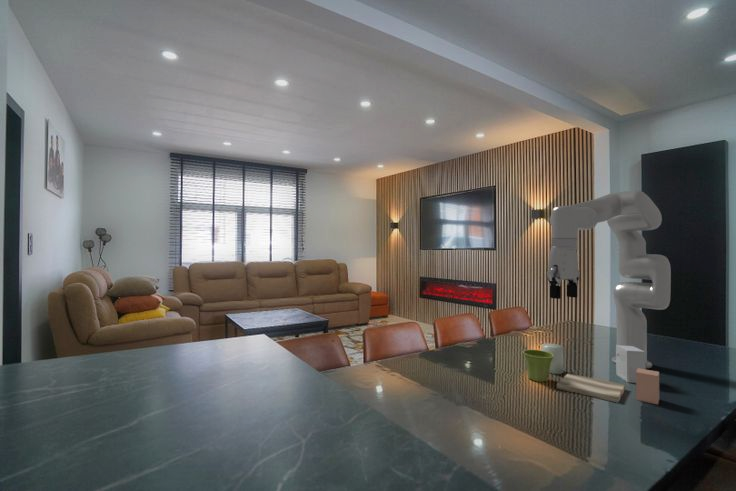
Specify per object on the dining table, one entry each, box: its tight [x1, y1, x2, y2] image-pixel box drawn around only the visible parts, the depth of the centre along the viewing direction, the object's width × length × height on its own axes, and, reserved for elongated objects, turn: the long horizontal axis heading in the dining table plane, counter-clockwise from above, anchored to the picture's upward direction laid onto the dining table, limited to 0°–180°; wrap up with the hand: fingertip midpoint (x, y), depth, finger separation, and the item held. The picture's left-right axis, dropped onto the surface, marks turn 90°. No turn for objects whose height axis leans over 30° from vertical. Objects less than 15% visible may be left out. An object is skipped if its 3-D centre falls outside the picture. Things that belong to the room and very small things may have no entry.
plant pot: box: [522, 349, 554, 383], centre depth 123 cm, size 9×9×9 cm
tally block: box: [635, 368, 660, 405], centre depth 106 cm, size 5×5×8 cm
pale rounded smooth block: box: [541, 343, 565, 375], centre depth 132 cm, size 7×7×9 cm
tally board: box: [556, 372, 626, 404], centre depth 114 cm, size 14×16×2 cm
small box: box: [615, 344, 647, 384], centre depth 124 cm, size 8×6×10 cm
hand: (563, 297), depth 117 cm, fingers open, 9 cm apart
